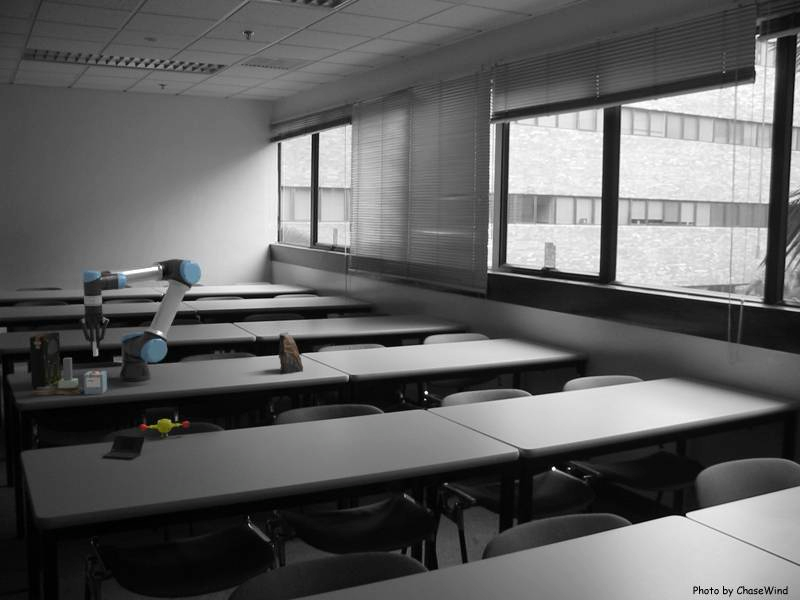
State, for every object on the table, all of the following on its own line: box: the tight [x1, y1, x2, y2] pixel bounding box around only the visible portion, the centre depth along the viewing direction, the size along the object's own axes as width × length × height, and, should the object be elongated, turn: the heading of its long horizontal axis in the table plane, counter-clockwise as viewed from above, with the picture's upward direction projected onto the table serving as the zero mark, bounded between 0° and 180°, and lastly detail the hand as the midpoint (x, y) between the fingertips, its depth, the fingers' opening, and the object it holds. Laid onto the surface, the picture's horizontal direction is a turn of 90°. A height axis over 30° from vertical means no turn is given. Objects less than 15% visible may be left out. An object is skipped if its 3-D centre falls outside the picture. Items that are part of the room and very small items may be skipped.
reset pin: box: [92, 370, 100, 378], centre depth 359 cm, size 3×3×5 cm
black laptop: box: [102, 435, 145, 461], centre depth 268 cm, size 12×7×10 cm
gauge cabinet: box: [83, 370, 108, 395], centre depth 359 cm, size 8×8×9 cm
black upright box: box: [29, 331, 62, 390], centre depth 370 cm, size 16×9×25 cm, turn 177°
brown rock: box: [278, 331, 304, 375], centre depth 412 cm, size 13×13×20 cm
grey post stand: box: [57, 357, 79, 388], centre depth 357 cm, size 7×6×13 cm
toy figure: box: [138, 418, 190, 438], centre depth 290 cm, size 18×6×7 cm, turn 109°
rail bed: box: [33, 385, 83, 396], centre depth 357 cm, size 19×7×3 cm, turn 98°
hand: (95, 355), depth 358 cm, fingers closed
